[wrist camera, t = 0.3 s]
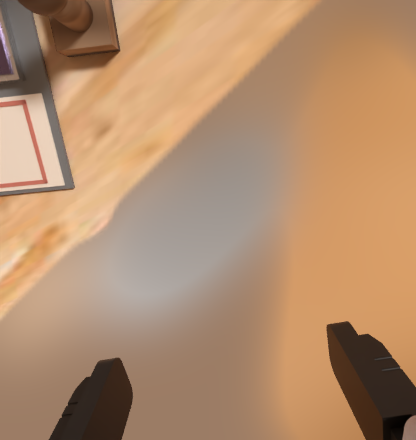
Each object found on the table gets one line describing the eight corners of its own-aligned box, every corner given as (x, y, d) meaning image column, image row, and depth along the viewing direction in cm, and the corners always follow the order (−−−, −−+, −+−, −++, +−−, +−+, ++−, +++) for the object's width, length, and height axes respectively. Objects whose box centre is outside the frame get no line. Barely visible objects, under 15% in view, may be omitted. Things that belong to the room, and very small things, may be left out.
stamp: (55, -5, 32) (-34, -80, 20) (109, -12, 31) (49, -92, 20) (69, 57, 33) (-7, 20, 22) (120, 50, 33) (70, 10, 22)
